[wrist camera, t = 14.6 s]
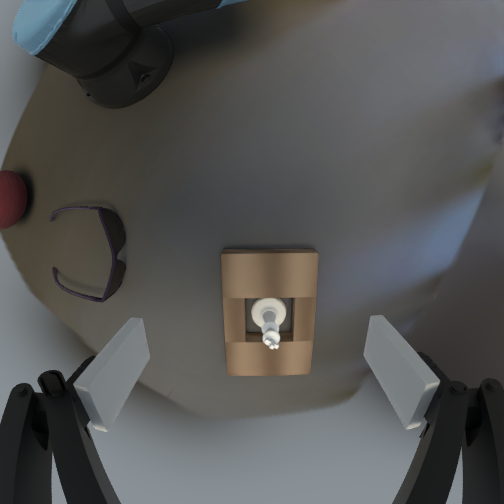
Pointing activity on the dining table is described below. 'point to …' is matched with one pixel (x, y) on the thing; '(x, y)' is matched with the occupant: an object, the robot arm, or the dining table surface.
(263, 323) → the chess piece
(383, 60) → the dining table surface
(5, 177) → the decorative ball
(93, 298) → the sunglasses
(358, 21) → the dining table surface
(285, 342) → the socket plate
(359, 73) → the dining table surface
